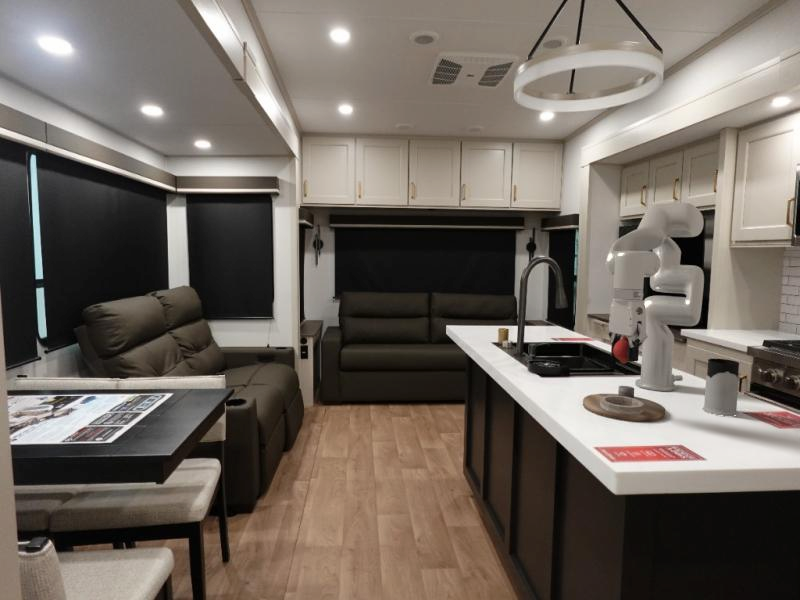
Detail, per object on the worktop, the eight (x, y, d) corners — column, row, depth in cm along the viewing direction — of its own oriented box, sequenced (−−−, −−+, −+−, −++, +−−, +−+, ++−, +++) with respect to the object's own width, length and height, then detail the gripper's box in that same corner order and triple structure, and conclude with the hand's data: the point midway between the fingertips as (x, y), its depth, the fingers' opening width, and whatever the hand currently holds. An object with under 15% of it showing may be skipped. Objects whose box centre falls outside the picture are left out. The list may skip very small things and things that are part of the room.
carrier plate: (627, 396, 156) (628, 382, 155) (683, 418, 135) (685, 402, 134) (567, 400, 150) (568, 386, 150) (616, 424, 129) (617, 408, 129)
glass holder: (706, 414, 138) (710, 363, 137) (693, 400, 152) (697, 353, 151) (742, 418, 136) (746, 365, 134) (726, 403, 149) (729, 355, 148)
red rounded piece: (630, 361, 140) (632, 334, 139) (638, 366, 134) (640, 337, 134) (609, 361, 141) (611, 333, 140) (616, 365, 135) (618, 337, 134)
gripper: (662, 297, 128) (658, 364, 130) (618, 292, 145) (614, 352, 147) (639, 298, 126) (635, 366, 128) (596, 293, 143) (593, 353, 145)
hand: (624, 358), depth 137 cm, fingers closed on red rounded piece, 5 cm apart
